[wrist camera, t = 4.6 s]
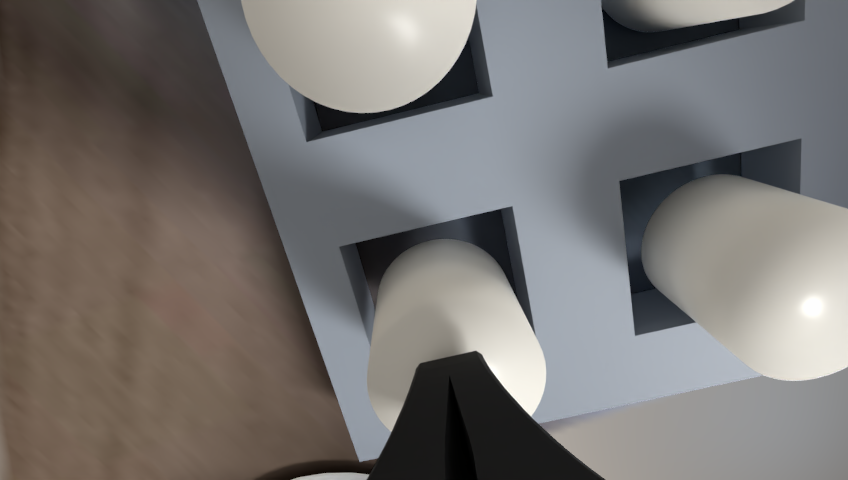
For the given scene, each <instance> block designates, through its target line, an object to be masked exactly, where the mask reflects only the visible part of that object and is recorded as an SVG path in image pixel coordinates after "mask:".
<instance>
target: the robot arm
mask: <svg viewBox="0 0 848 480" xmlns="http://www.w3.org/2000/svg"><path fill="white" fill-rule="evenodd" d="M367 480H605V479H604V478H602V477H601V476H600V475H598V474H597V473H596V472H594V471H593V470H591V469H590V468H589V467H588V466H586V465H585V464H584V463H583V462H581V461H580V460H579V459H577V458H576V457H575V456H574V455H573V454H571V453H570V452H569V451H568V450H567V449H565V448H564V447H563V446H562V445H561V444H560V443H558V442H557V441H556V440H555V439H554V438H553V437H552V436H551V435H550V434H548V433H547V432H546V431H545V430H544V429H543V428H542V427H541V426H540V425H539V424H538V423H537V422H536V421H535V420H534V419H533V418H532V417H531V416H530V415H529V414H528V413H527V412H526V411H525V410H524V409H523V408H522V407H521V406H520V404H519V403H518V402H517V401H516V400H515V399H514V398H513V397H512V396H511V395H510V393H509V392H508V391H507V390H506V389H505V388H504V386H503V385H502V384H501V383H500V381H499V380H498V379H497V377H496V376H495V375H494V373H493V372H492V371H491V369H490V368H489V366H488V365H487V363H486V361H485V359H484V358H483V355H482V354H481V353H479V352H477V351H472V352H468V353H463V354H459V355H454V356H450V357H445V358H441V359H436V360H432V361H427V362H423V363H420V364H419V365H418V367H417V368H416V370H415V374H414V377H413V380H412V383H411V386H410V389H409V391H408V394H407V397H406V399H405V402H404V404H403V407H402V409H401V411H400V414H399V416H398V418H397V421H396V423H395V425H394V427H393V430H392V432H391V434H390V436H389V438H388V440H387V442H386V444H385V446H384V448H383V450H382V452H381V454H380V456H379V458H378V460H377V462H376V463H375V465H374V467H373V469H372V471H371V473H370V475H369V476H368V478H367Z"/></svg>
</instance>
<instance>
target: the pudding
mask: <svg viewBox="0 0 848 480" xmlns="http://www.w3.org/2000/svg"><path fill="white" fill-rule="evenodd" d="M368 476H369V474H360V473H322V474H316V475H310V476H303V477H298V478H295V479H292V480H367V478H368Z"/></svg>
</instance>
